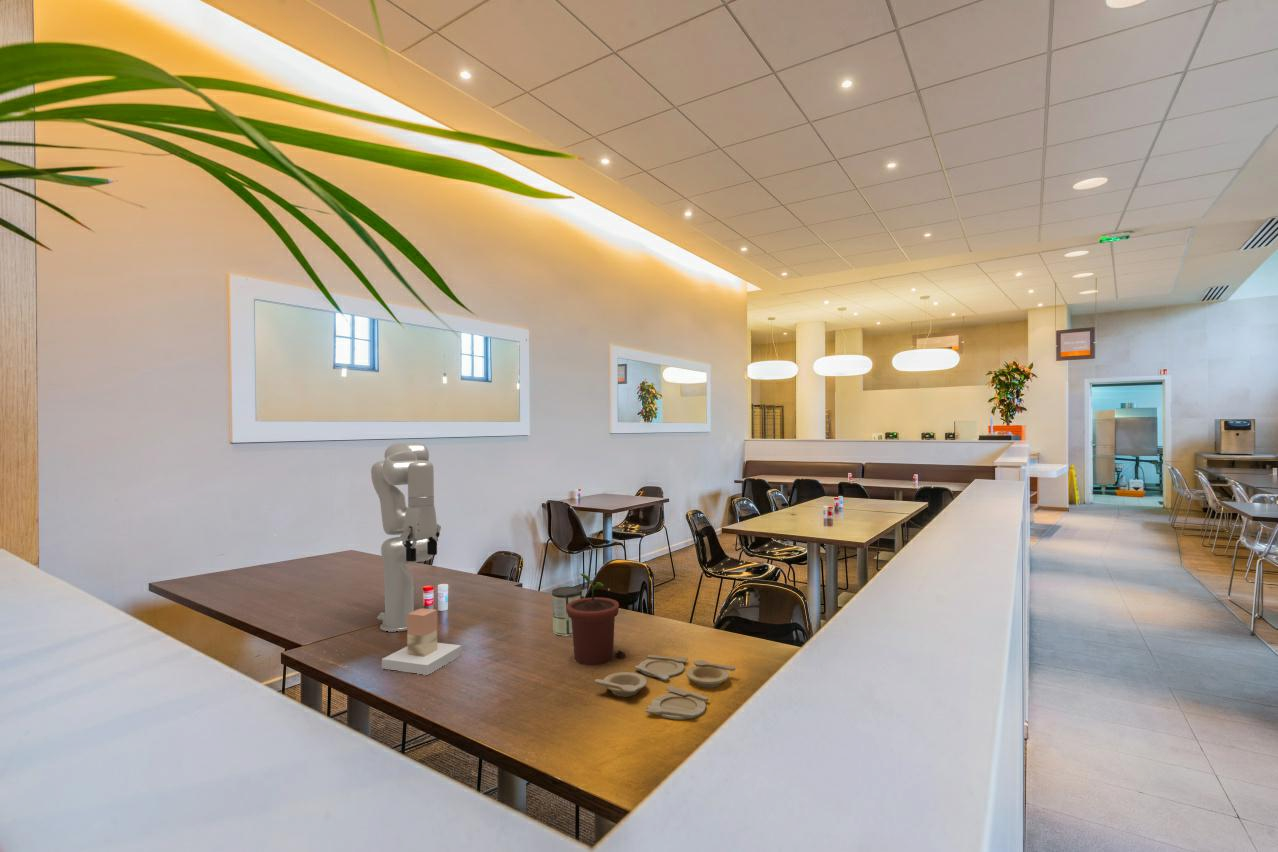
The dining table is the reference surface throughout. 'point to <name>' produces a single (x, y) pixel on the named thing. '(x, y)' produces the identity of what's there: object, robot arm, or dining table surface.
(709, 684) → the tableware set
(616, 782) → the dining table surface
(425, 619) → the terracotta cube
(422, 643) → the brass cube
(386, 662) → the grey base board
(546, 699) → the dining table surface
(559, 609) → the coffee can
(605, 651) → the potted plant
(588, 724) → the dining table surface
